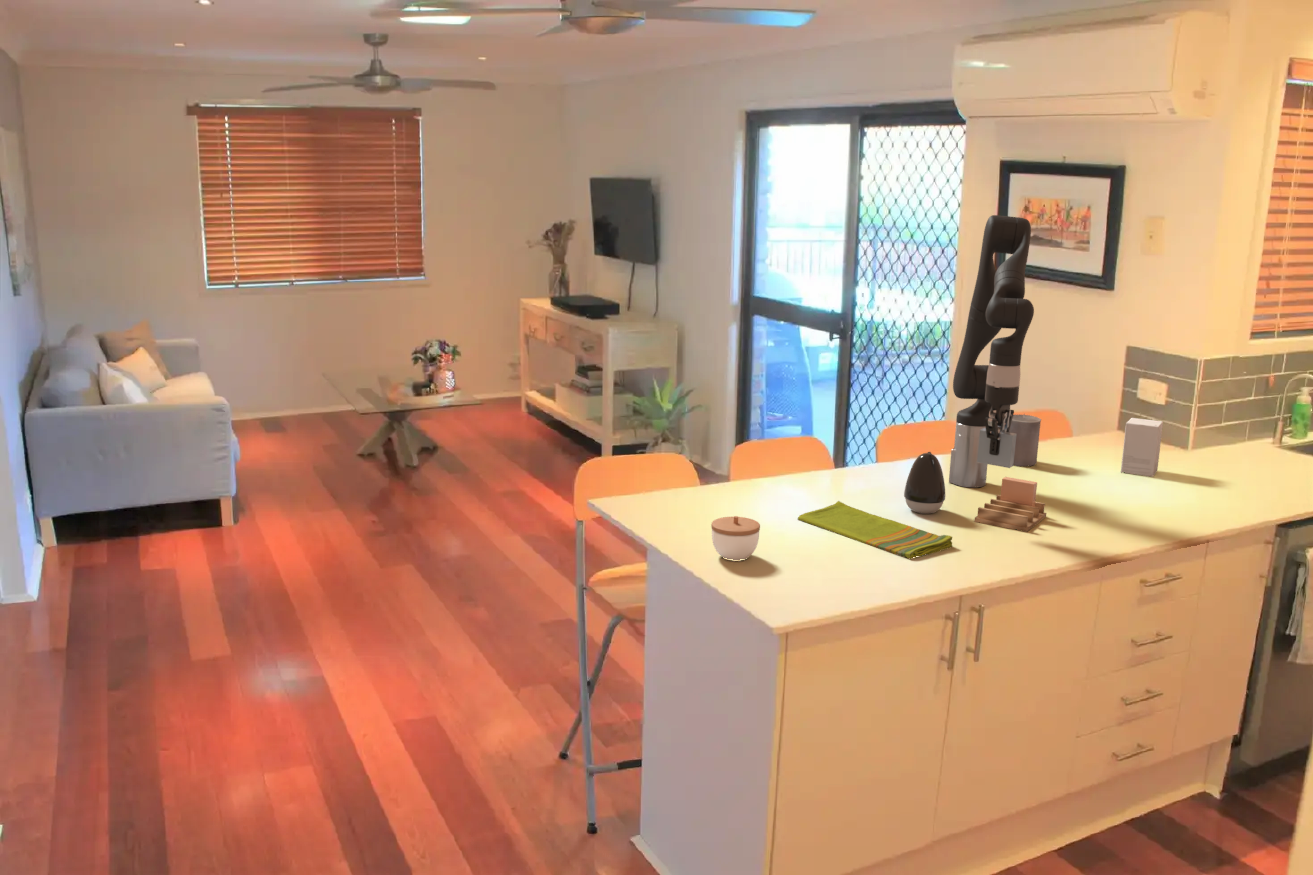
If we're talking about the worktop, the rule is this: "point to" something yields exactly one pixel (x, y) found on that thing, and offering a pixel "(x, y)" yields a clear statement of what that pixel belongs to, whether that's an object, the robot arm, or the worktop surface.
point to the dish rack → (1011, 514)
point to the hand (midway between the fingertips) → (996, 453)
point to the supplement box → (1141, 446)
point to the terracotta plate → (1018, 491)
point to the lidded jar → (735, 536)
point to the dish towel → (876, 530)
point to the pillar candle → (1025, 439)
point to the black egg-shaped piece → (925, 485)
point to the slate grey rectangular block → (1005, 450)
